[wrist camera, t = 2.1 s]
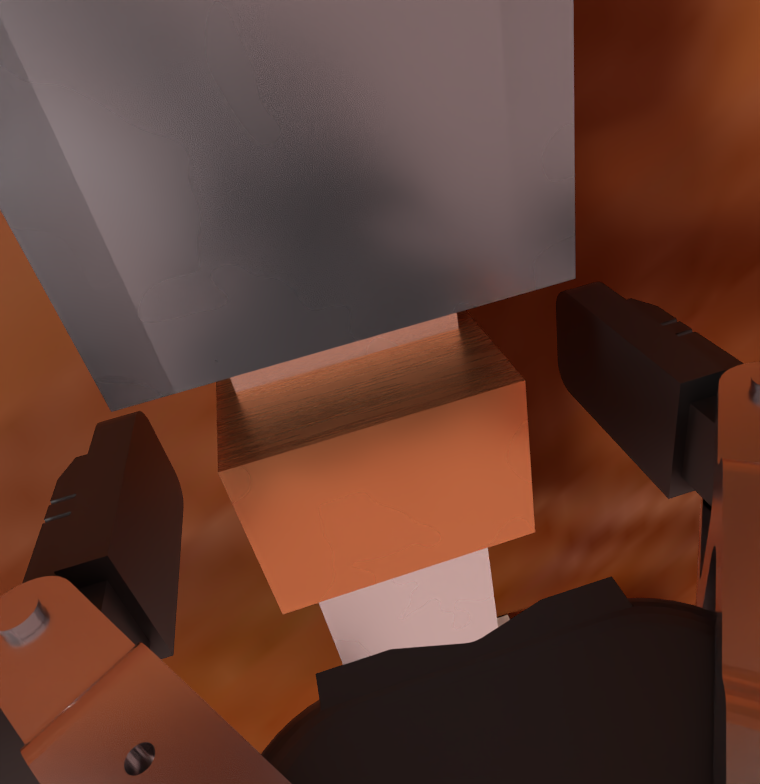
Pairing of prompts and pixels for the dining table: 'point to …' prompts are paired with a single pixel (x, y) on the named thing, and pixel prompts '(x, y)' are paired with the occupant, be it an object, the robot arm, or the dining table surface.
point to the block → (280, 172)
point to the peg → (382, 481)
